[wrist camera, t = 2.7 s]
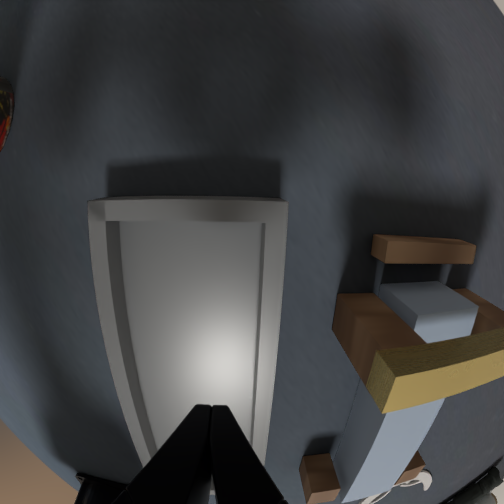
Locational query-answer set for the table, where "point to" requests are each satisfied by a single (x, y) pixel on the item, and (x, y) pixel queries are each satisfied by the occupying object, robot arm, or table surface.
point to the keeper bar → (434, 370)
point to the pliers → (422, 477)
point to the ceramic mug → (488, 499)
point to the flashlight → (479, 488)
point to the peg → (406, 420)
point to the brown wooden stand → (388, 337)
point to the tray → (190, 308)
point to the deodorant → (5, 109)
